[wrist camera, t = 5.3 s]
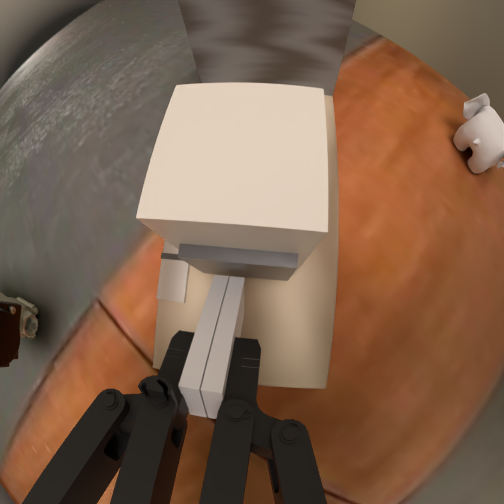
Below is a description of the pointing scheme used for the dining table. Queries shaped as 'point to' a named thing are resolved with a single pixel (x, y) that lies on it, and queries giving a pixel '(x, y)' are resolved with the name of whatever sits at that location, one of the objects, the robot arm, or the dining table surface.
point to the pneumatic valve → (15, 326)
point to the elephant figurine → (481, 135)
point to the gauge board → (326, 253)
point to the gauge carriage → (240, 178)
